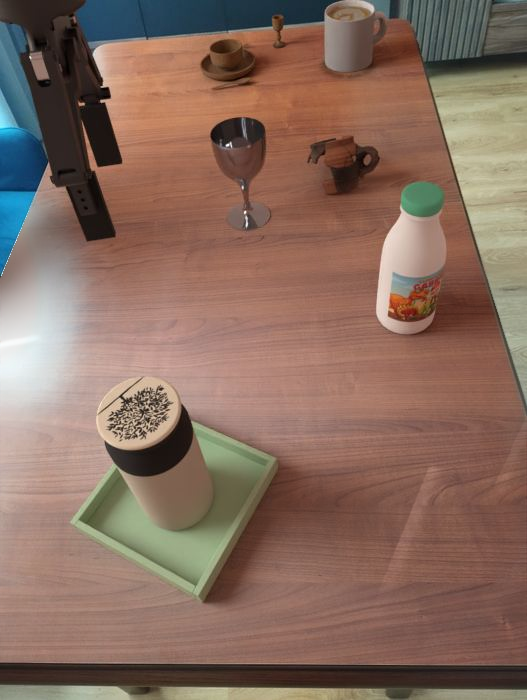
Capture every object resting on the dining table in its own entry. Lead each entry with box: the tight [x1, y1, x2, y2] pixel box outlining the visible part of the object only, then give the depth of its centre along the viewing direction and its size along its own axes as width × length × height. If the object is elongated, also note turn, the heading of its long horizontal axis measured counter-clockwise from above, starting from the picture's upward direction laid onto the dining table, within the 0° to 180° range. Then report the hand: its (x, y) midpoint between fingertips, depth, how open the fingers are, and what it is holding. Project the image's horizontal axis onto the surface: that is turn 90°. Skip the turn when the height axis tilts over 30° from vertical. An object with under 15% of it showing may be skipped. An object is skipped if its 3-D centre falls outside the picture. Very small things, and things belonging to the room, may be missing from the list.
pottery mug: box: [306, 135, 381, 195], centre depth 97 cm, size 12×10×8 cm
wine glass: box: [209, 116, 271, 231], centre depth 89 cm, size 8×8×15 cm
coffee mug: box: [324, 0, 388, 73], centre depth 120 cm, size 13×10×10 cm
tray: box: [69, 419, 279, 604], centre depth 64 cm, size 16×16×2 cm
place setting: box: [199, 14, 286, 90], centre depth 124 cm, size 18×20×6 cm
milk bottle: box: [375, 180, 448, 335], centre depth 71 cm, size 8×8×20 cm
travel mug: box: [95, 375, 214, 531], centre depth 58 cm, size 8×8×18 cm
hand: (106, 198), depth 59 cm, fingers open, 13 cm apart
